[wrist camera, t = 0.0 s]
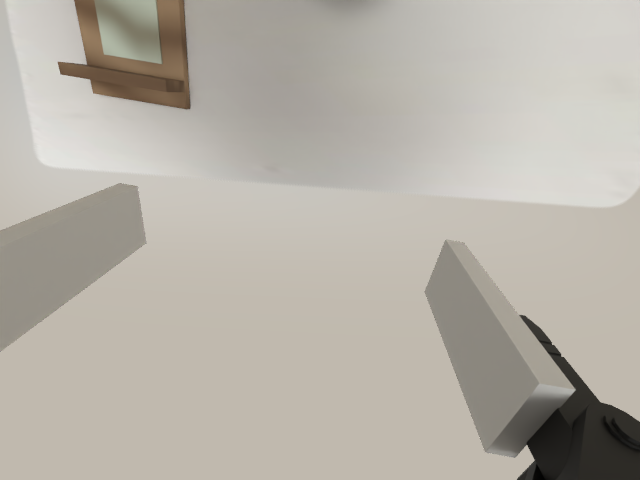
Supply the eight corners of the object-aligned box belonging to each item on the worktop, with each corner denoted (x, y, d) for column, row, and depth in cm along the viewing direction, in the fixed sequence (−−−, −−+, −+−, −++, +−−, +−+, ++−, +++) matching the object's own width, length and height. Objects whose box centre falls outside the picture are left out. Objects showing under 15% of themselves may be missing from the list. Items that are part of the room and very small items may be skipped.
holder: (65, -79, 30) (16, -110, 25) (179, -61, 29) (149, -88, 25) (99, 93, 37) (65, 93, 33) (190, 108, 37) (168, 110, 32)
